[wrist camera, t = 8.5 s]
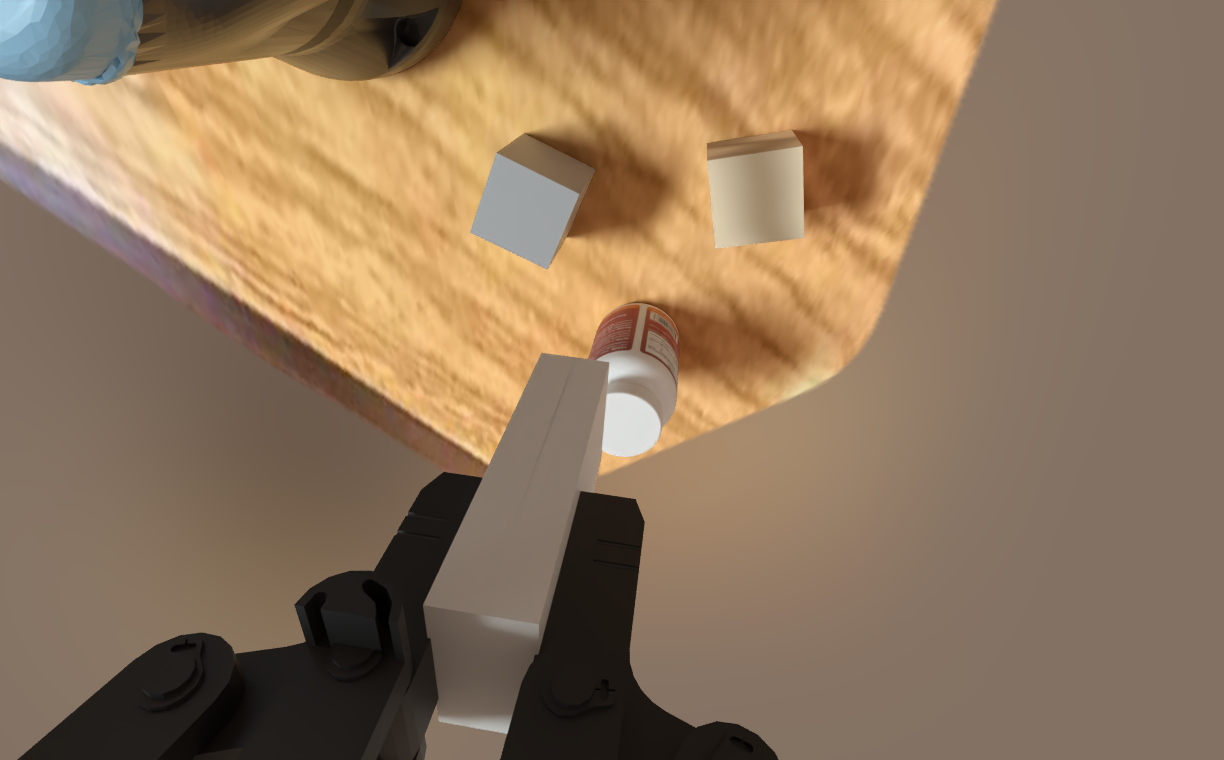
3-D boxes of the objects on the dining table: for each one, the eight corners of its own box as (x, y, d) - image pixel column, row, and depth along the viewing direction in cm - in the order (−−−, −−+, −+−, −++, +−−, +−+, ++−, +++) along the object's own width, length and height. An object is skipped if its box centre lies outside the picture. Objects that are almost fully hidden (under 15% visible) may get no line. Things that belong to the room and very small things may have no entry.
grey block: (499, 204, 41) (470, 232, 36) (524, 133, 38) (496, 152, 33) (566, 237, 41) (547, 269, 36) (595, 169, 39) (579, 194, 34)
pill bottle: (594, 367, 47) (565, 458, 37) (600, 294, 43) (572, 374, 34) (674, 379, 46) (666, 474, 37) (687, 306, 43) (682, 391, 34)
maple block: (714, 222, 40) (715, 248, 35) (706, 143, 37) (707, 160, 33) (793, 212, 39) (804, 237, 34) (791, 129, 36) (802, 146, 32)
